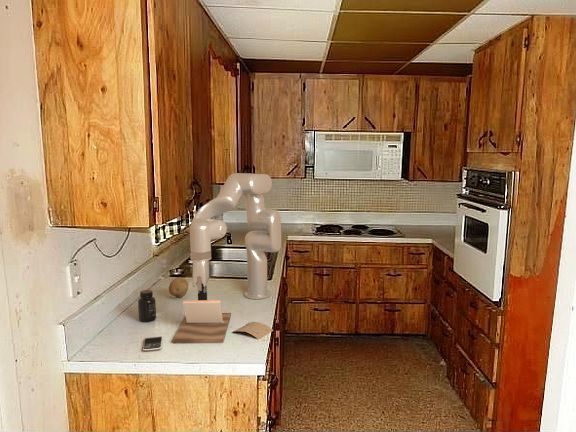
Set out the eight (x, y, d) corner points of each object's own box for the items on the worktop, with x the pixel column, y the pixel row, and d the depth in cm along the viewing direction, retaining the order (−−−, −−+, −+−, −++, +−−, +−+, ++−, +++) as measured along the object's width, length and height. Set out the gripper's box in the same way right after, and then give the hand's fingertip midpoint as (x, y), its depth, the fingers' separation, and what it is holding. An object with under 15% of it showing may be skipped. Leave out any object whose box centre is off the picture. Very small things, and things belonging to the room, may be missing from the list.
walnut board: (188, 316, 181) (187, 313, 181) (230, 316, 181) (230, 312, 181) (173, 343, 155) (173, 339, 155) (223, 343, 156) (223, 339, 155)
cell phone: (142, 353, 148) (142, 350, 148) (145, 340, 159) (145, 336, 158) (161, 352, 149) (161, 348, 149) (162, 338, 160) (162, 335, 160)
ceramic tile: (182, 300, 162) (182, 302, 162) (220, 300, 163) (220, 302, 162) (187, 321, 170) (186, 323, 170) (223, 321, 171) (223, 323, 170)
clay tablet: (275, 332, 167) (275, 325, 166) (261, 342, 158) (261, 335, 157) (244, 325, 173) (244, 318, 173) (229, 334, 165) (229, 327, 164)
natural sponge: (178, 303, 197) (177, 282, 196) (164, 299, 202) (164, 278, 201) (192, 297, 205) (192, 277, 203) (179, 294, 210) (179, 274, 208)
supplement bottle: (155, 315, 182) (154, 288, 180) (156, 321, 175) (155, 293, 174) (138, 317, 180) (137, 289, 178) (138, 323, 173) (137, 294, 171)
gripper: (194, 250, 169) (196, 295, 172) (186, 260, 154) (188, 309, 157) (214, 250, 169) (215, 295, 172) (207, 260, 154) (209, 309, 157)
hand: (202, 301), depth 164 cm, fingers closed
